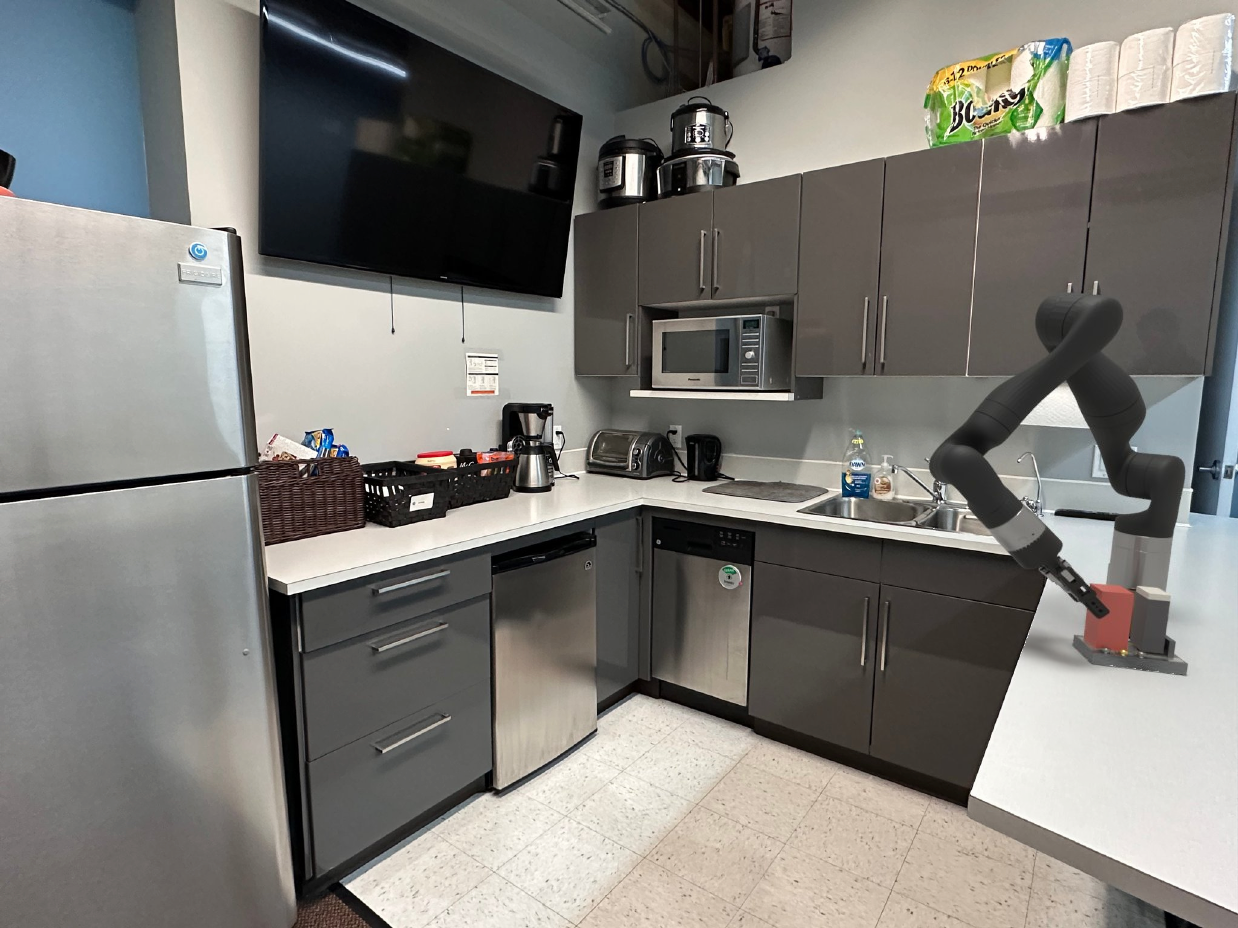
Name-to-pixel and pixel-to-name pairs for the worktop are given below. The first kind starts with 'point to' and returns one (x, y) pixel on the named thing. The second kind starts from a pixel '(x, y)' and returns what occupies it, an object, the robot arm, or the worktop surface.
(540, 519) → the worktop surface
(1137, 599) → the block
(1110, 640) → the block
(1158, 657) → the ball-studded metal plate
